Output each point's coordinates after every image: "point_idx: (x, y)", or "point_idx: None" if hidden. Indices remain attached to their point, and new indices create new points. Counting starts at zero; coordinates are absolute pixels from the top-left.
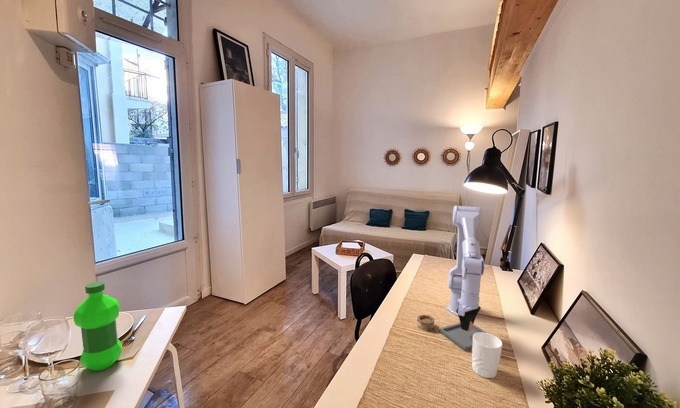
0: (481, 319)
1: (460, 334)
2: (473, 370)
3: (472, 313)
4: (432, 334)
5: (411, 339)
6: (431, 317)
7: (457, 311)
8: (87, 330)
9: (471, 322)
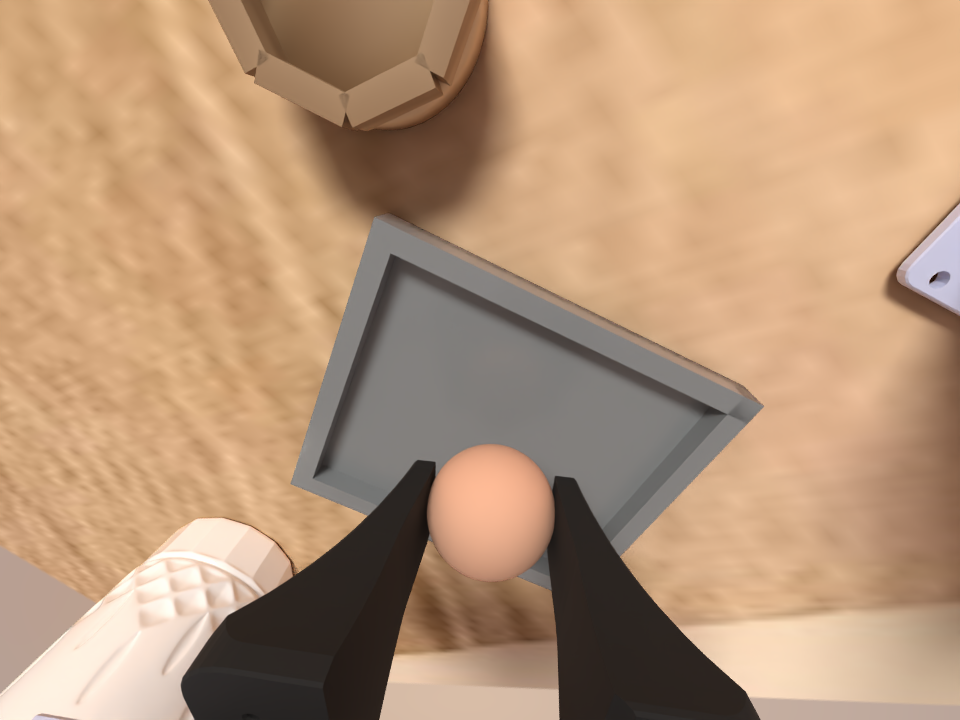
0: (925, 468)
1: (474, 398)
2: (181, 527)
3: (567, 674)
4: (294, 173)
5: (16, 18)
6: (446, 13)
7: (189, 668)
8: None
9: (490, 581)
